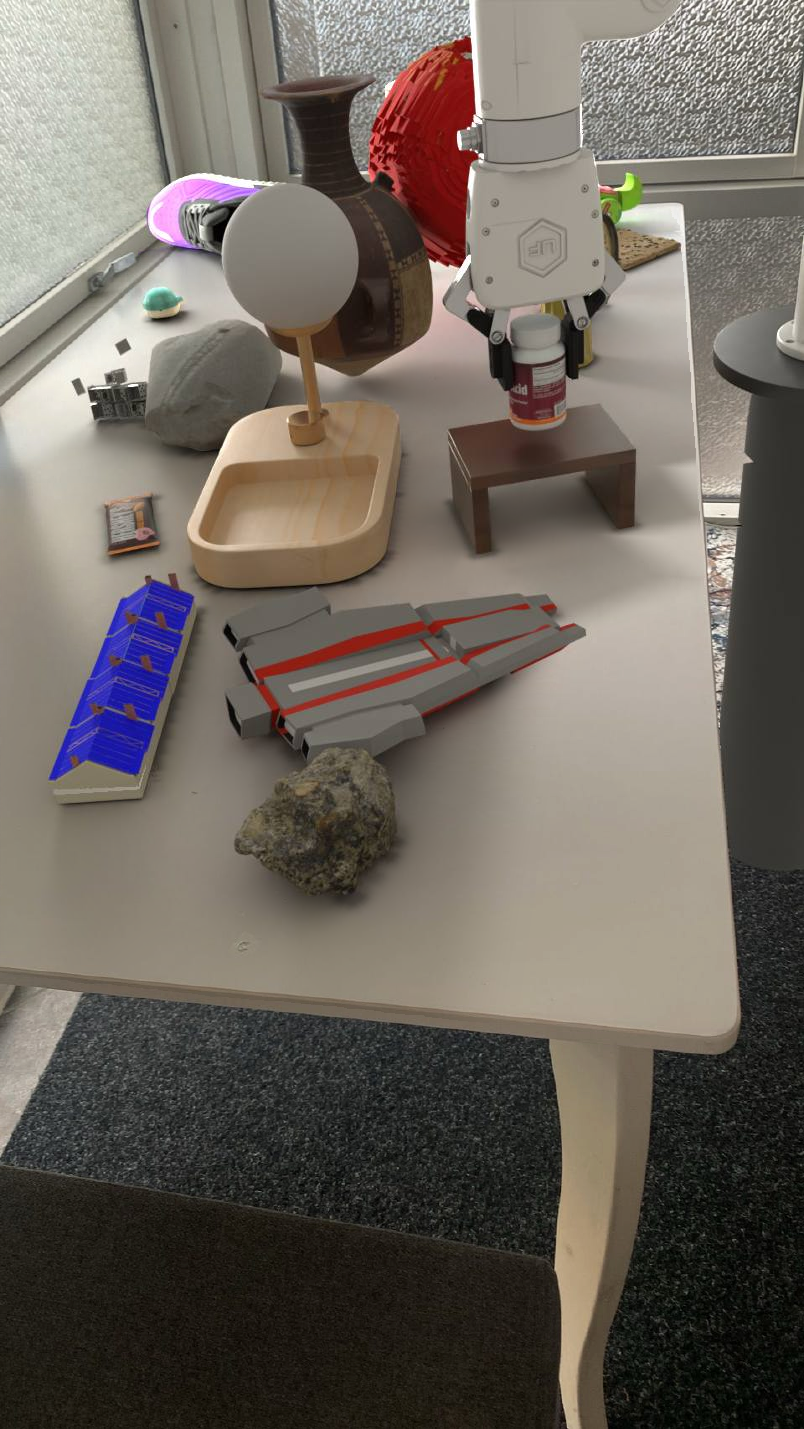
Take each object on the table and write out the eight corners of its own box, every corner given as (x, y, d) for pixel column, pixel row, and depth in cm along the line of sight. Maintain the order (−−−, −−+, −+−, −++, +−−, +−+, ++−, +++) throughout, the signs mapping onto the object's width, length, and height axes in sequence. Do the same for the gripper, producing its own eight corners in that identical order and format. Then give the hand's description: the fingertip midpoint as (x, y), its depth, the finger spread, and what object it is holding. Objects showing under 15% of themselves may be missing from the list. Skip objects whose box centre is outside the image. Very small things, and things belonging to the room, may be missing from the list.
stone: (155, 302, 132) (283, 306, 133) (159, 355, 136) (283, 359, 137) (126, 406, 112) (276, 411, 114) (133, 464, 117) (277, 468, 118)
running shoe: (151, 177, 179) (101, 203, 169) (313, 163, 168) (271, 189, 158) (169, 246, 185) (122, 275, 175) (327, 237, 174) (287, 267, 164)
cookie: (625, 271, 149) (626, 263, 148) (558, 255, 156) (558, 248, 155) (683, 247, 154) (683, 239, 154) (615, 232, 162) (615, 225, 161)
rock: (232, 913, 67) (274, 785, 74) (377, 928, 65) (407, 796, 72) (212, 858, 63) (259, 727, 69) (366, 872, 61) (399, 738, 68)
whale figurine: (141, 323, 153) (134, 295, 150) (147, 306, 158) (140, 278, 156) (183, 318, 153) (176, 290, 150) (188, 300, 158) (182, 273, 156)
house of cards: (61, 344, 124) (101, 333, 130) (81, 422, 128) (119, 408, 134) (129, 337, 121) (166, 326, 127) (147, 418, 124) (182, 404, 131)
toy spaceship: (504, 539, 91) (500, 592, 94) (188, 610, 82) (194, 666, 85) (643, 659, 77) (633, 717, 80) (281, 761, 68) (285, 822, 71)
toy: (580, 129, 141) (650, 103, 114) (482, 300, 148) (526, 313, 120) (424, 18, 135) (459, -38, 107) (330, 202, 142) (340, 193, 114)
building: (145, 800, 75) (130, 755, 72) (56, 805, 75) (39, 762, 73) (199, 611, 93) (188, 570, 90) (127, 617, 93) (114, 576, 91)
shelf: (599, 476, 104) (599, 402, 100) (634, 526, 96) (636, 449, 92) (453, 501, 103) (446, 428, 99) (476, 554, 95) (470, 477, 91)
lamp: (382, 582, 93) (340, 273, 77) (182, 593, 95) (101, 294, 80) (408, 416, 119) (380, 159, 103) (250, 428, 121) (199, 177, 105)
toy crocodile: (516, 240, 163) (514, 195, 159) (506, 230, 168) (505, 187, 165) (648, 222, 164) (649, 177, 160) (634, 213, 169) (635, 169, 166)
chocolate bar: (161, 548, 102) (159, 540, 102) (107, 559, 101) (105, 551, 101) (153, 495, 111) (151, 488, 110) (104, 505, 110) (102, 498, 109)
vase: (435, 407, 120) (407, 94, 101) (259, 420, 122) (200, 116, 104) (443, 331, 138) (420, 52, 119) (289, 343, 140) (243, 72, 121)
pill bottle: (501, 416, 96) (495, 319, 91) (551, 404, 97) (549, 307, 91) (524, 437, 92) (519, 337, 87) (576, 423, 93) (575, 323, 88)
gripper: (423, 166, 77) (445, 414, 89) (660, 129, 79) (651, 379, 90) (405, 145, 83) (428, 380, 95) (626, 110, 84) (622, 347, 96)
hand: (537, 377), depth 92 cm, fingers closed on pill bottle, 4 cm apart
